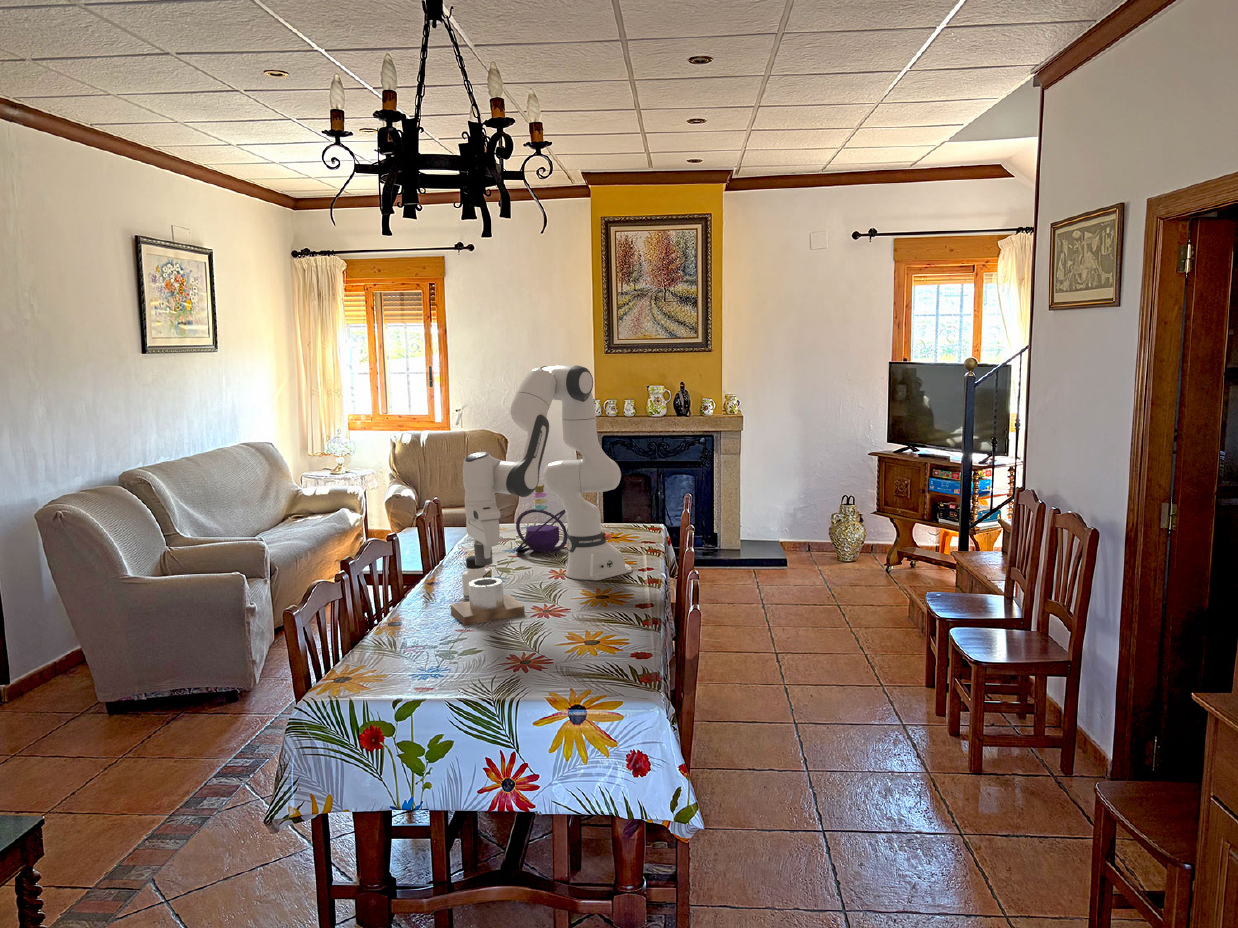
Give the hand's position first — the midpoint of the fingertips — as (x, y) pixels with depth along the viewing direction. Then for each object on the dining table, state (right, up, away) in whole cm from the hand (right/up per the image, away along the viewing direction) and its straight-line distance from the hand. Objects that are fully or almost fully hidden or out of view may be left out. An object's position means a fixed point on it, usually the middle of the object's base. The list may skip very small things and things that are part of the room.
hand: (483, 555), depth 257 cm
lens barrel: (+1, -15, +2) cm, 15 cm away
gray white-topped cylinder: (0, -2, 0) cm, 2 cm away
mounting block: (+1, -17, +3) cm, 18 cm away
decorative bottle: (+11, -6, +76) cm, 77 cm away
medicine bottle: (-5, -15, +24) cm, 29 cm away
